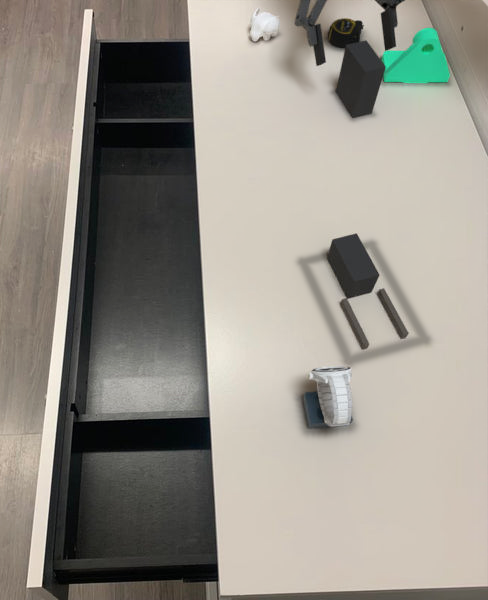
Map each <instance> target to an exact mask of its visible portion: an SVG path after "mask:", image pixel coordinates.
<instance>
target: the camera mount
mask: <svg viewBox="0 0 488 600" xmlns="http://www.w3.org/2000/svg"><path fill="white" fill-rule="evenodd" d="M380 60H381V61H382V62H383V64H384V65H385V66H386V68H385V71H384V75H383V82H388V83H389V82H390V83H391V82H393V83H394V82H396V83H402V84H428V83H448V81H449V79H450V77H451V73H450V69H449V66H448V61H447V58H446V53H445V52H444V51H443V48H442V44H441V41H440V37H439V34H438V31H437V30H436V29H435V28H434V27H425V28H422V29H420V30H418V31H417V32H416V33H415V35H414V36H413V39H412V44H411V45H410V46H408V48H407V49H406V50H386V51H385V50H384V51H383V53H382V56H381V58H380Z"/></svg>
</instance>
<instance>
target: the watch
mask: <svg viewBox="0 0 488 600" xmlns="http://www.w3.org/2000/svg"><path fill="white" fill-rule="evenodd" d="M352 370H353V369H352V367H350V366H344V365H343V366H342V365H332V366H331V365H329V366H322V367H315V368H312V369H311V370H310V371H311V372H310V373H308V379H309V380H312V381H315V382H316V388H317V391H309V392H307V391H306V392H304V393H303V396H302V398H301V399H302V403H303V408H304V414H305V419H306V424H307V430H313V429H314V430H315V429H324V428H325V429H326V428H338V427H348V426H351V424H352V422H353V421H354V418H353V415H352V414H353V400H352V399H353V398H352V390H351V385H350V382H351V381H352Z"/></svg>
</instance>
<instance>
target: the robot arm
mask: <svg viewBox="0 0 488 600" xmlns="http://www.w3.org/2000/svg"><path fill="white" fill-rule="evenodd" d="M327 1H328V0H315V2H314V4H313V6H312V8H311V10H310V12H309V8H310V4H311V0H299V4H298V7H297V11H296V15H295V18H294V26H295V27H302V28H303V29H304V30H305V31H306V38H307V43H308V46H309V48H311V47H313V52H314V60H315V66H316V67H319V66H321V65H324V64H325V63H327V59H326V53H325V45H324V39H323V32H322V31H323V30H322V24H321V23H317V21H318V19H319V17H320V14H321V13H322V11H323V9H324V8H325V5H326V3H327ZM374 1H375V2H376V3H377V4H378V5H379V6H380V7H381V8H382V9H383V10H384V11H382V12H380V20H381V28H382V36H383V37H382V38H383V47H384V52H385V51H391V49H392V50H393V49H395V48H396V47H397V40H396V32H395V28H397V27H398V24H399V23H398V14H397V13H398V12H397V7H398V6H399V5H400V4H401V3H403V2H404V1H406V0H374ZM308 12H309V13H308Z"/></svg>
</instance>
